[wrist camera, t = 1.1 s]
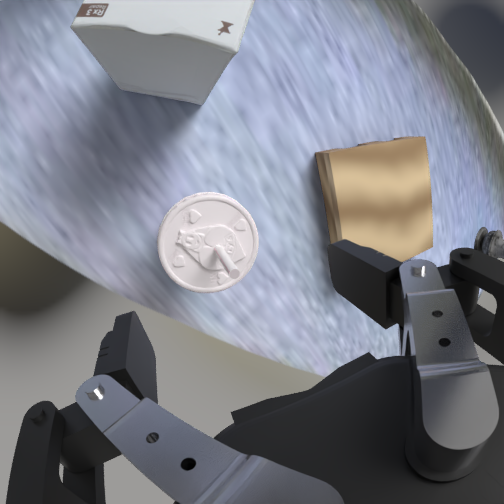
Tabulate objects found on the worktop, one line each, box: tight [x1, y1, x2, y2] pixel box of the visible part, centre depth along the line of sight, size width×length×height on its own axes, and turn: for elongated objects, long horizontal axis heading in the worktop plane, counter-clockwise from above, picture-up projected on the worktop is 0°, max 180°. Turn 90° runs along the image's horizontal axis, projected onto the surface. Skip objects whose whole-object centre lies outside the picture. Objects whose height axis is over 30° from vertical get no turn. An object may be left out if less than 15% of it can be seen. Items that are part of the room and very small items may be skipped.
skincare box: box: [71, 0, 255, 105], centre depth 15 cm, size 8×6×15 cm
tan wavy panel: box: [315, 137, 433, 262], centre depth 31 cm, size 14×14×3 cm
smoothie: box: [157, 192, 259, 293], centre depth 21 cm, size 6×6×14 cm
